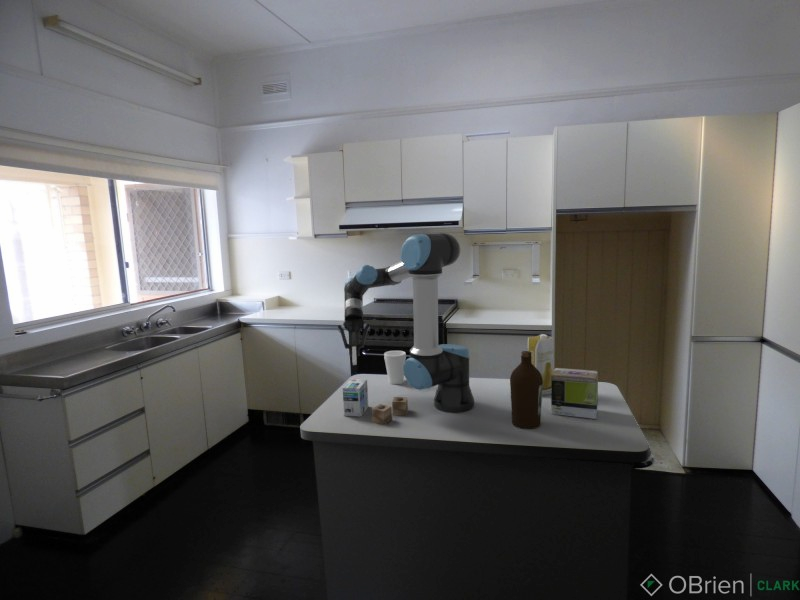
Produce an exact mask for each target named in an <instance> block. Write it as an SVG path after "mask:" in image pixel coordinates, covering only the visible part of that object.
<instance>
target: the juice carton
mask: <svg viewBox="0 0 800 600" xmlns="http://www.w3.org/2000/svg"><path fill="white" fill-rule="evenodd" d="M554 346H555V345H554V337H553V336H549V335H547V334H544V333H541V334H538V335H537V336H529V337H527V351H530V352H531V356H532V361H531V363H532V364H533V365H534V366H535V367H536V368H537V369H538V371H539V372H540V373H541V375H542V379H543V388H542V397H543V396H546V395H551V375H552V373H553V371H554Z"/></svg>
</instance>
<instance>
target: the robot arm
mask: <svg viewBox="0 0 800 600" xmlns="http://www.w3.org/2000/svg"><path fill="white" fill-rule="evenodd" d="M459 243H460V242H459V241H458V240H457V238H456V237H454V236H453V235H452V234H449V233H446V232H445V233H444V232H440V233H420V234H414V235H410V236H409V237H408V238H407V239H406V240H405V241H404V242H403V244H402V246H401V250H400V251H401V252H400V261H398V262H396V263H393V264H391V265H390V266H386V267H382V268H375V267H374V266H372V265H369V264H364V265H362V266H361V267H360V268H359V269H358V271H357V272H356V274H355V275H354V277H350V278H349V279H346V281H345V282H344V287H343V289H344V290H343V291H344V292H343V293H344V321H343V323H342V325H338V326H337V330H338V332H339V333H340V335H341V338H342V342H343V345H344V346H343V347H344V349H346V350H347V349H348V350H349V352H348V353H349V357H351V358H352V359H351V361H352V366H357V363H358V362H357V359H358V358H357V357H359V356H360V349H363V348H364V347H365V346H366V345H365V343H366V339H367V336H368V333H369V331H370V329H371V324H369V323H366V322H365V321H364V304H363V303H364V302H363V300H364V298H363V297H364V295H365V294H366V293H367V291H368V290H369V289H372V288H374V289H375V288H379V287H387V286H396V285H399V284H401V283H402V281H404V280H407V279H409V278H412V283H413V284H412V291H413V292H412V300H413V301H412V303H413V307H412V308H413V311H412V312H413V346H412V347H411V348H410V349H409V357H408V358H406V359H405V362H404V365H403V371H404V378H405V379H406V381H407V382H408V384H409V385H410V386H411V387H412V388H413V389H416V390H420V391H421V390H422V391H423V390H427V389H431V388H433V387H436V386H437V389H436V392H435V394H434V395H435V396H434V399H433V404H434V405H433V406H434V407H435V408H436V409H437V410H439V411H443V412H448V413H461V412H466V411H470V410H472V409H473V408H474V407H475V398H474V395H473V391H472V389H471V386H470V353H469V349H468V348H467V347H466V346H463V345H459V344H453V343H447V344H446V343H443V344H439V284H438V283H439V277H440V276H442V275H443V267H446V266H447V267H448V266H450V265H452V264H454V263H455V262H457V261H458V259H459V257H460V254H461V246H460V244H459ZM362 329H363V332H362V336H361V340H360V331H361V330H362ZM345 330H346V331H347V332H348V341H347V336H346V334H345ZM353 333H355V346H353V343H354V342H353V340H354V339H353Z"/></svg>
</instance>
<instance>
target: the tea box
mask: <svg viewBox="0 0 800 600" xmlns="http://www.w3.org/2000/svg"><path fill="white" fill-rule="evenodd" d="M550 395H551V397H550V398H551V399H550V400H551V401H550V404H551V405H550V406H551V410H550V411H551V415H559V416H565V417H566V416H567V417H568V416H569V417H576V418H585V419H593V420H597V415H598V414H597V413H598V408H599V405H598V402H599V399H598V398H599V371H598V370H594V369H593V370H590V369H589V370H588V369H578V368H577V369H575V368H563V367H562V368H561V367H554V368H553V373H552V375H551V393H550Z"/></svg>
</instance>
